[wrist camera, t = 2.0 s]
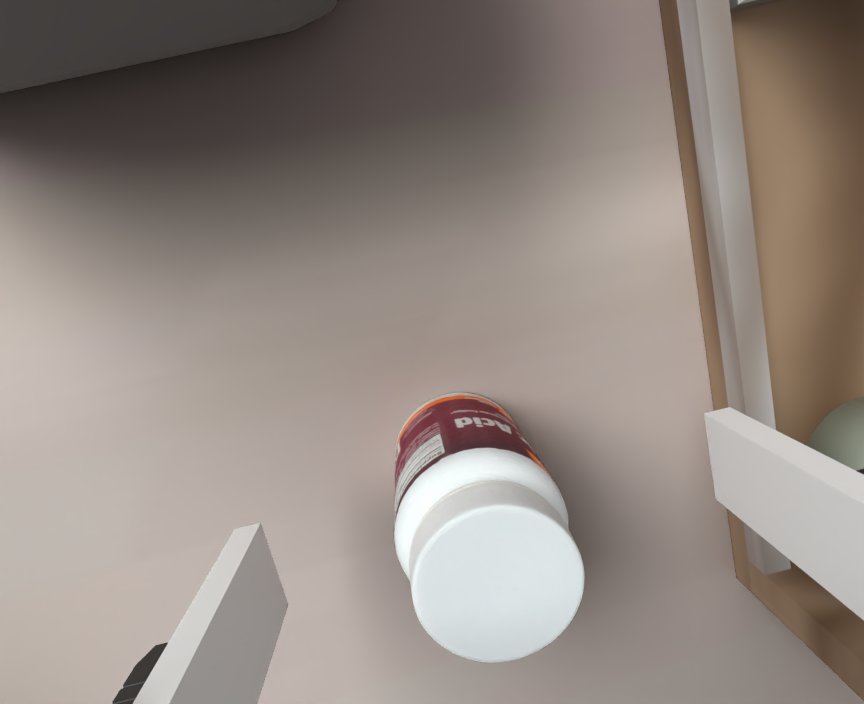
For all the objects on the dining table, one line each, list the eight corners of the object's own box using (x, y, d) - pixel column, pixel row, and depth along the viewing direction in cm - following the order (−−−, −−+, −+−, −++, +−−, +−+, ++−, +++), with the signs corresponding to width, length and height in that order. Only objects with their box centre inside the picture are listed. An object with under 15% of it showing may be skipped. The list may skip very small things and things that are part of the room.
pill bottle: (543, 430, 20) (644, 554, 12) (473, 529, 21) (525, 711, 13) (439, 364, 20) (472, 451, 11) (369, 469, 20) (354, 622, 12)
